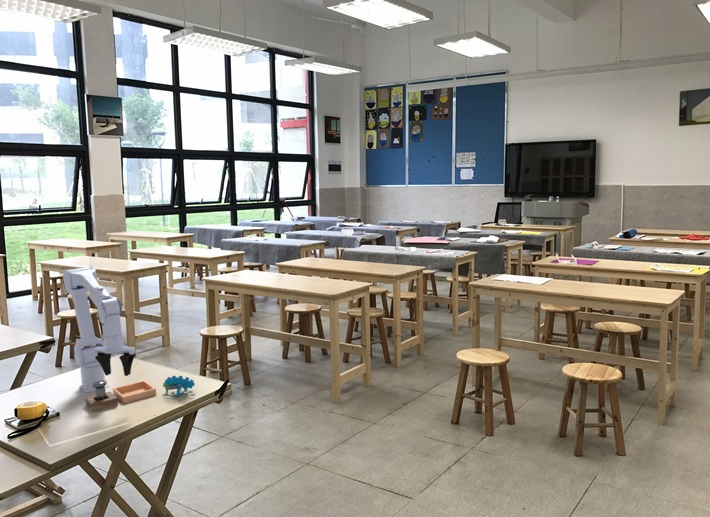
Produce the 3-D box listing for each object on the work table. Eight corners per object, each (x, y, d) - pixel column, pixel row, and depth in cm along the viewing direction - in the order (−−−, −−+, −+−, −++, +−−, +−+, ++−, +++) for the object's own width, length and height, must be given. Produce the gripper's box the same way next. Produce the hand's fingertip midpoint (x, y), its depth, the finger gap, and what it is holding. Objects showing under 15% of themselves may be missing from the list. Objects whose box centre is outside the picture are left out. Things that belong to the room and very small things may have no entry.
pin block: (86, 406, 203) (85, 397, 202) (111, 399, 207) (110, 391, 207) (93, 413, 196) (91, 404, 196) (118, 406, 201) (117, 397, 201)
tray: (113, 395, 211) (112, 388, 211) (145, 387, 218) (144, 380, 218) (123, 404, 203) (122, 397, 202) (156, 395, 209) (155, 388, 209)
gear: (200, 384, 214) (186, 372, 206) (197, 400, 210) (183, 388, 202) (171, 387, 216) (157, 376, 208) (168, 403, 212) (154, 392, 205)
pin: (93, 404, 202) (90, 382, 201) (106, 401, 205) (104, 379, 204) (97, 408, 199) (94, 386, 197) (110, 405, 201) (108, 382, 200)
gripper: (85, 338, 197) (91, 378, 199) (123, 338, 193) (128, 379, 195) (100, 332, 204) (105, 371, 206) (137, 332, 200) (142, 372, 202)
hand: (117, 374), depth 201 cm, fingers open, 7 cm apart
